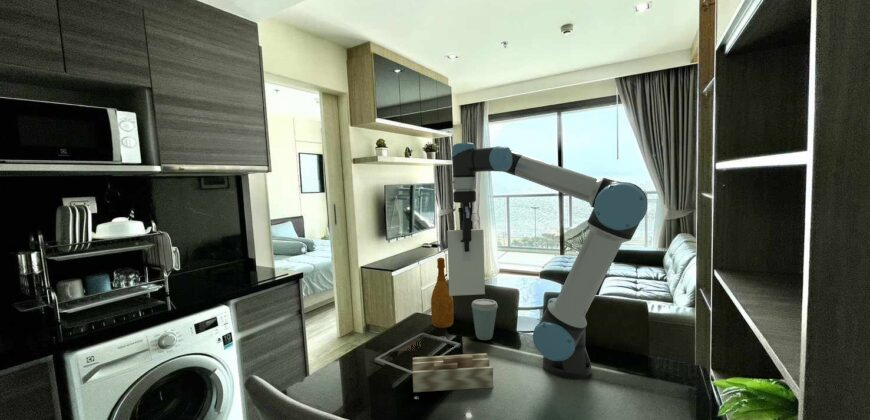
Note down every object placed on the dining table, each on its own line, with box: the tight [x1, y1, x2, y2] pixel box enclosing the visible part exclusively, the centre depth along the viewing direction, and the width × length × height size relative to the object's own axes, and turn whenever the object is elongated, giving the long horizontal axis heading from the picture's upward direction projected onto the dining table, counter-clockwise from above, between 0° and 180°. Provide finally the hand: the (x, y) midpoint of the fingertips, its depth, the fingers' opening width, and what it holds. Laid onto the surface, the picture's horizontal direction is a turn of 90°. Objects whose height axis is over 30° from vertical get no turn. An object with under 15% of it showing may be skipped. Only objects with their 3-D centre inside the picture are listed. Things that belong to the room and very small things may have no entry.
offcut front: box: [434, 362, 458, 370], centre depth 109 cm, size 7×2×7 cm, turn 93°
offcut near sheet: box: [443, 354, 473, 368], centre depth 111 cm, size 9×2×8 cm, turn 93°
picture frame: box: [373, 332, 462, 375], centre depth 134 cm, size 19×2×30 cm
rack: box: [412, 353, 494, 393], centre depth 111 cm, size 24×9×7 cm, turn 93°
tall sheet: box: [446, 228, 486, 297], centre depth 121 cm, size 12×2×22 cm, turn 93°
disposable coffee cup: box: [471, 298, 499, 341], centre depth 145 cm, size 11×11×15 cm
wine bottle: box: [430, 257, 454, 329], centre depth 158 cm, size 10×10×30 cm
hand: (466, 260), depth 121 cm, fingers closed on tall sheet, 2 cm apart
